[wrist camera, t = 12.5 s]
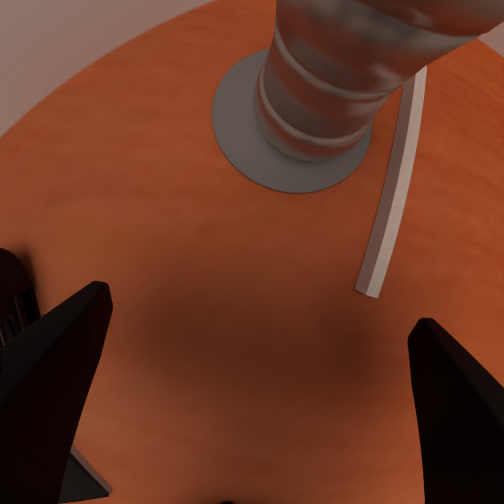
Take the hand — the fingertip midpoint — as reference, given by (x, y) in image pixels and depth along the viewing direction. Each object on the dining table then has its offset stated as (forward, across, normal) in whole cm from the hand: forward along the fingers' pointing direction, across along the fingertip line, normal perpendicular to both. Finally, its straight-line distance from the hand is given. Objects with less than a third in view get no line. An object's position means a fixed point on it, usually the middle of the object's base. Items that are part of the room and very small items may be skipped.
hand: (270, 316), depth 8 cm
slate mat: (+14, -1, -3) cm, 14 cm away
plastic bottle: (+14, -2, -3) cm, 14 cm away
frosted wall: (+13, -8, -2) cm, 16 cm away
